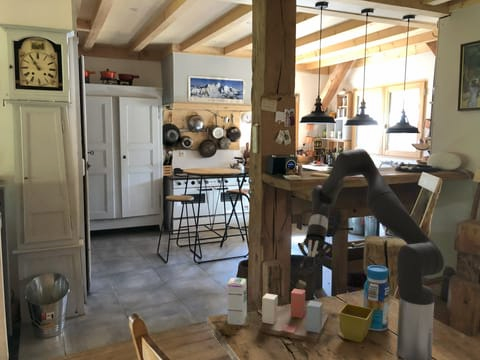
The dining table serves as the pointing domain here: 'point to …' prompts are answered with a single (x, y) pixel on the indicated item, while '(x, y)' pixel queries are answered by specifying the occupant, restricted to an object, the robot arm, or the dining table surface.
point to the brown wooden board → (292, 326)
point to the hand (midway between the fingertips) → (309, 267)
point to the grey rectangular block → (314, 316)
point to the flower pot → (355, 321)
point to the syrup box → (236, 301)
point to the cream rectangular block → (269, 308)
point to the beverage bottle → (377, 296)
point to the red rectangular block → (298, 303)
